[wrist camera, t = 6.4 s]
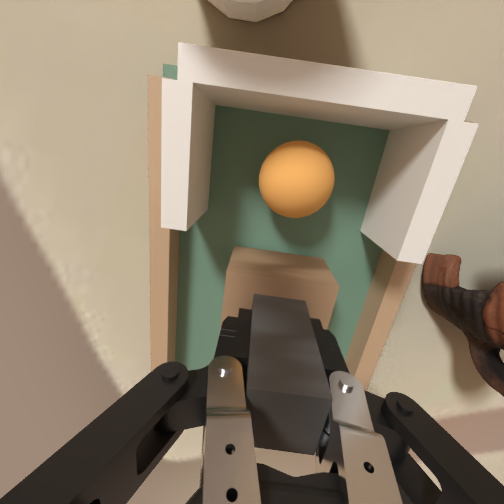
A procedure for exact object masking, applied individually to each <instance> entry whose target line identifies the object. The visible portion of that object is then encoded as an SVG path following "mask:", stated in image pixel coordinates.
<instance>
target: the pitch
mask: <svg viewBox="0 0 504 504" xmlns="http://www.w3.org/2000/svg"><path fill="white" fill-rule="evenodd" d="M477 87H478V86H474V85H467V84H461V83H454V82H447V81H440V80H433V79H426V78H420V77H413V76H406V75H399V74H392V73H385V72H379V71H372V70H365V69H358V68H351V67H344V66H338V65H331V64H324V63H317V62H310V61H303V60H297V59H290V58H283V57H276V56H269V55H262V54H256V53H249V52H242V51H235V50H228V49H221V48H215V47H208V46H201V45H194V44H187V43H180V42H178V66H175V65H168V64H163V77H159V76H152V75H148V143H149V235H150V326H151V372H152V371H153V370H154V369H155V368H156V367H158V366H159V365H161V364H163V363H166V362H171V361H174V362H179V363H182V364H183V365H185V366H186V367H187V369H188V371H189V370H196V369H201V368H203V367H206V366H207V365H209V364H210V362H211V361H212V360H213V358H214V355H215V351H216V347H217V343H218V339H219V335H220V326H221V317H222V307H223V298H224V289H225V279H226V271H227V268H228V265H229V261H230V258H231V255H232V252H233V249H234V246H241V247H248V248H255V249H262V250H269V251H276V252H283V253H291V254H298V255H305V256H312V257H319V258H323V259H324V260H325V262H326V264H327V266H328V267H329V269H330V271H331V273H332V274H333V276H334V278H335V280H336V281H337V283H338V285H339V291H338V294H337V298H336V301H335V305H334V308H333V311H332V315H331V318H330V322H329V325H328V329H327V330H329V331H330V332H331V333H332V334H333V335H334V336H335V337H336V340H337V342H338V346H339V347H340V350H341V353H342V355H343V358H344V360H345V363H346V365H347V368H348V370H349V373H350V374H351V375H353V376H354V377H356V378H357V379H358V380H359V381H360V383H361V384H362V386H363V388H364V390H365V391H366V390H367V387H368V385H369V382H370V380H371V377H372V375H373V372H374V370H375V367H376V365H377V362H378V360H379V357H380V355H381V352H382V350H383V347H384V345H385V342H386V340H387V337H388V335H389V332H390V330H391V327H392V324H393V322H394V319H395V317H396V314H397V312H398V309H399V307H400V304H401V302H402V299H403V297H404V294H405V292H406V289H407V287H408V284H409V282H410V279H411V277H412V274H413V272H414V269H415V267H416V264H422V263H423V261H424V258H425V256H426V253H427V251H428V249H429V246H430V244H431V241H432V239H433V236H434V234H435V231H436V229H437V226H438V224H439V221H440V219H441V217H442V214H443V212H444V209H445V207H446V204H447V202H448V199H449V197H450V194H451V192H452V190H453V187H454V185H455V182H456V180H457V177H458V175H459V172H460V170H461V167H462V165H463V163H464V160H465V158H466V155H467V153H468V150H469V148H470V145H471V143H472V140H473V138H474V136H475V133H476V131H477V128H478V126H479V124H476V123H473V122H468V121H464V120H465V118H466V115H467V113H468V110H469V108H470V105H471V102H472V100H473V97H474V95H475V92H476V89H477ZM299 140H300V141H307V142H310V143H313V144H315V145H317V146H319V147H320V148H321V149H322V150H323V151H324V152H325V153H326V154H327V155H328V157H329V158H330V160H331V162H332V165H333V168H334V175H335V180H334V187H333V190H332V193H331V195H330V197H329V199H328V200H327V202H326V203H325V204H324V205H323V206H322V207H321V208H320V209H319V210H318V211H316V212H315V213H313V214H311V215H309V216H305V217H301V218H289V217H285V216H282V215H280V214H277V213H276V212H274V211H273V210H272V209H271V208H270V207H269V206H268V205H267V204H266V203H265V201H264V199H263V197H262V195H261V192H260V188H259V174H260V170H261V167H262V164H263V162H264V160H265V159H266V157H267V156H268V155H269V154H270V152H272V151H273V150H274V149H275V148H276V147H278V146H280V145H281V144H284V143H286V142H290V141H299Z"/></svg>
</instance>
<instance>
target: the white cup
mask: <svg viewBox="0 0 504 504" xmlns="http://www.w3.org/2000/svg"><path fill="white" fill-rule="evenodd" d="M208 1H209V2H210V3H211V4H213V5H214V6H215V7H216V8H217V9H219V10H220V11H221V12H222V13H224V14H225V15H226V16H227V17H229V18H234V19H239V20H245V21H251V22H258V21H261V20H263V19H266V18H268V17H271V16H273V15H276V14H278V13H280V12H283V11H284V10H285V9H286V8H287V7H288V5H289V4H290V3H291V2H292V1H293V0H208Z"/></svg>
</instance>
